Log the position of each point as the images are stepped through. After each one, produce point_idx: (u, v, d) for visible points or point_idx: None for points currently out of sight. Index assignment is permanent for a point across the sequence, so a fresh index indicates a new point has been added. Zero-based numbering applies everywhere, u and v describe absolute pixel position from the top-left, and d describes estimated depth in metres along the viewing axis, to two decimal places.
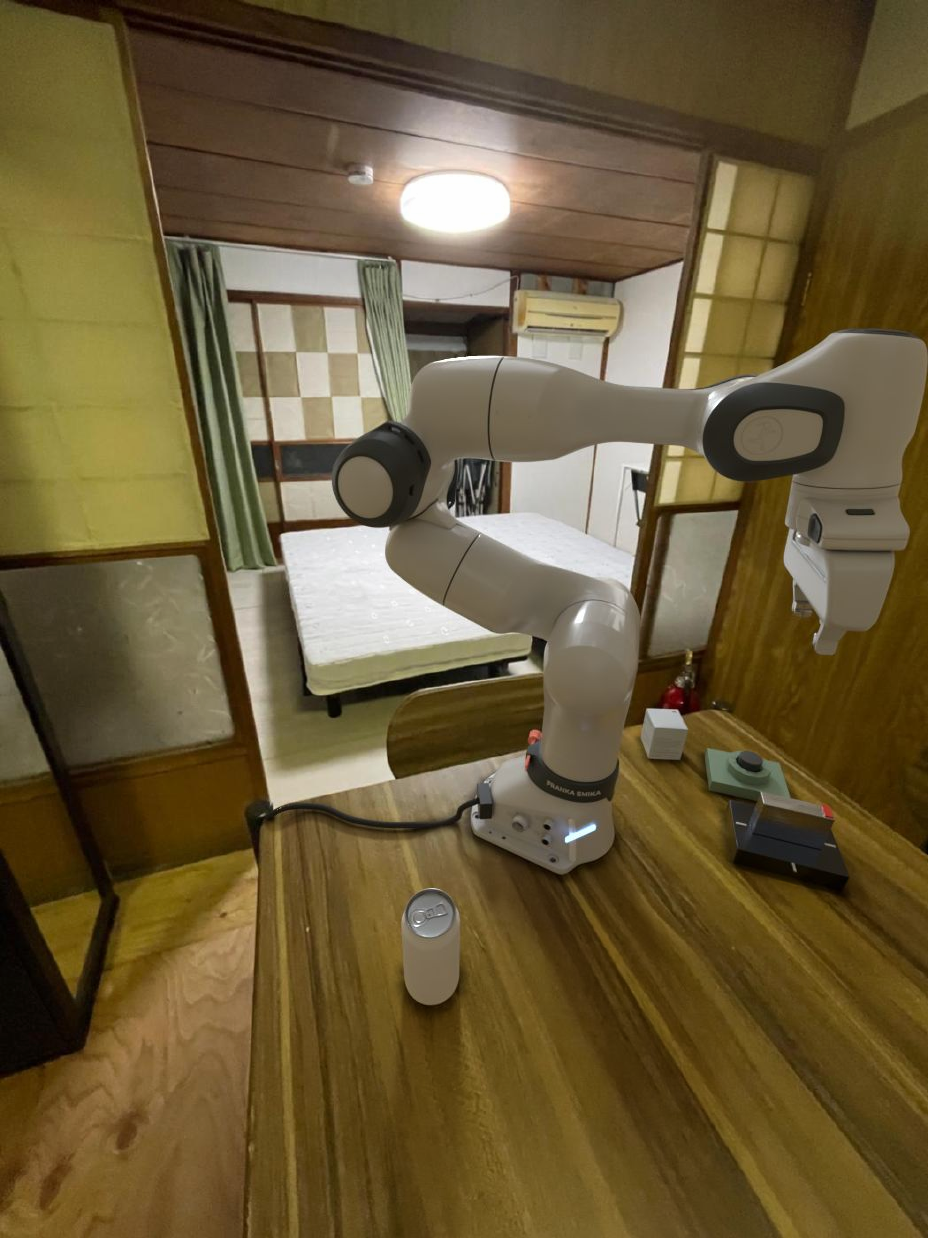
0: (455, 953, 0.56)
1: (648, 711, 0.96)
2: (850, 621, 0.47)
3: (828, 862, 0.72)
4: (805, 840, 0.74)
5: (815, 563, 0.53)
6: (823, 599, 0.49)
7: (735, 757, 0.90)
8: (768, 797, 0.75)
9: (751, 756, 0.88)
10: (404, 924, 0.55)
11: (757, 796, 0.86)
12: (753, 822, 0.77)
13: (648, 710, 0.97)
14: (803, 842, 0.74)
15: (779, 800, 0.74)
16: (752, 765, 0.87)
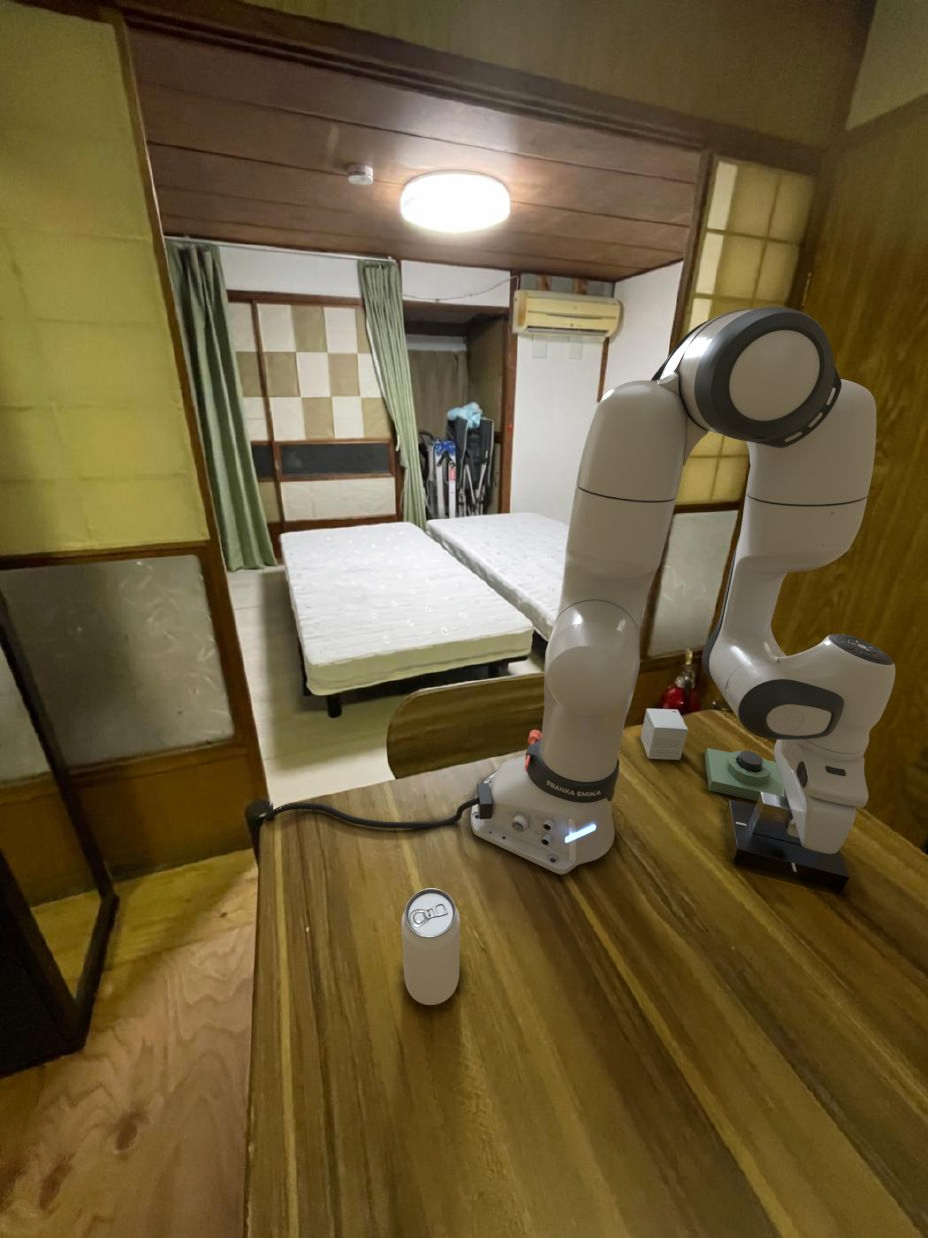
0: (455, 953, 0.56)
1: (648, 711, 0.96)
2: (820, 848, 0.64)
3: (828, 862, 0.72)
4: None
5: (799, 784, 0.70)
6: (802, 823, 0.66)
7: (735, 757, 0.90)
8: (768, 797, 0.75)
9: (751, 756, 0.88)
10: (404, 924, 0.55)
11: (757, 796, 0.86)
12: (753, 822, 0.77)
13: (648, 710, 0.97)
14: None
15: (779, 800, 0.74)
16: (752, 765, 0.87)
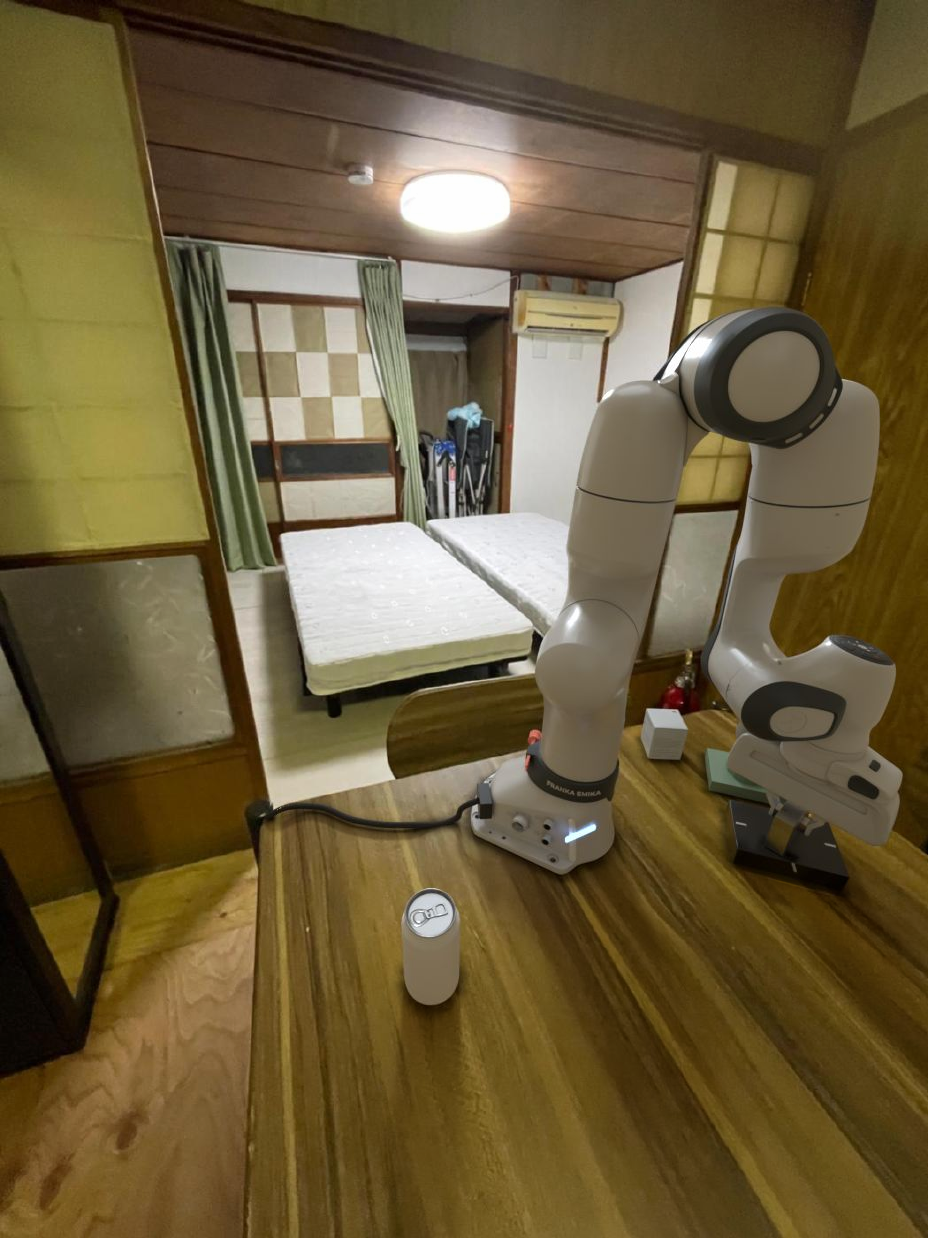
0: (455, 953, 0.56)
1: (648, 711, 0.96)
2: (887, 838, 0.66)
3: (828, 862, 0.72)
4: None
5: (820, 791, 0.69)
6: (862, 826, 0.66)
7: None
8: (785, 817, 0.72)
9: None
10: (404, 924, 0.55)
11: (757, 796, 0.86)
12: (777, 847, 0.73)
13: (648, 710, 0.97)
14: None
15: (789, 812, 0.72)
16: None
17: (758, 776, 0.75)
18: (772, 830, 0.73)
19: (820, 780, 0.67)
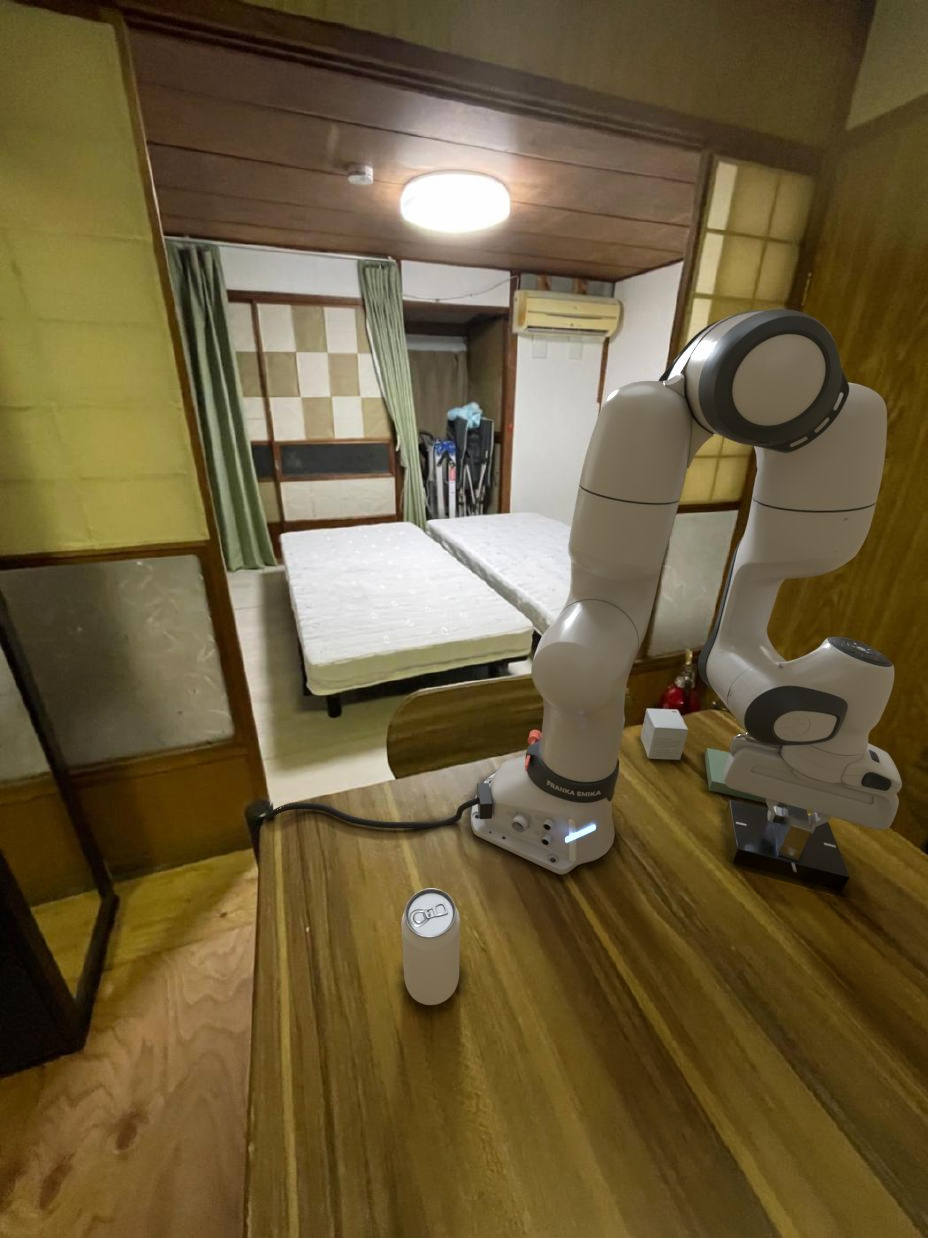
0: (455, 953, 0.56)
1: (648, 711, 0.96)
2: None
3: (828, 862, 0.72)
4: None
5: (826, 791, 0.69)
6: (869, 815, 0.68)
7: None
8: (798, 823, 0.71)
9: None
10: (404, 924, 0.55)
11: (757, 796, 0.86)
12: (792, 853, 0.72)
13: (648, 710, 0.97)
14: None
15: (797, 815, 0.72)
16: None
17: (761, 789, 0.73)
18: (787, 839, 0.71)
19: (830, 782, 0.68)
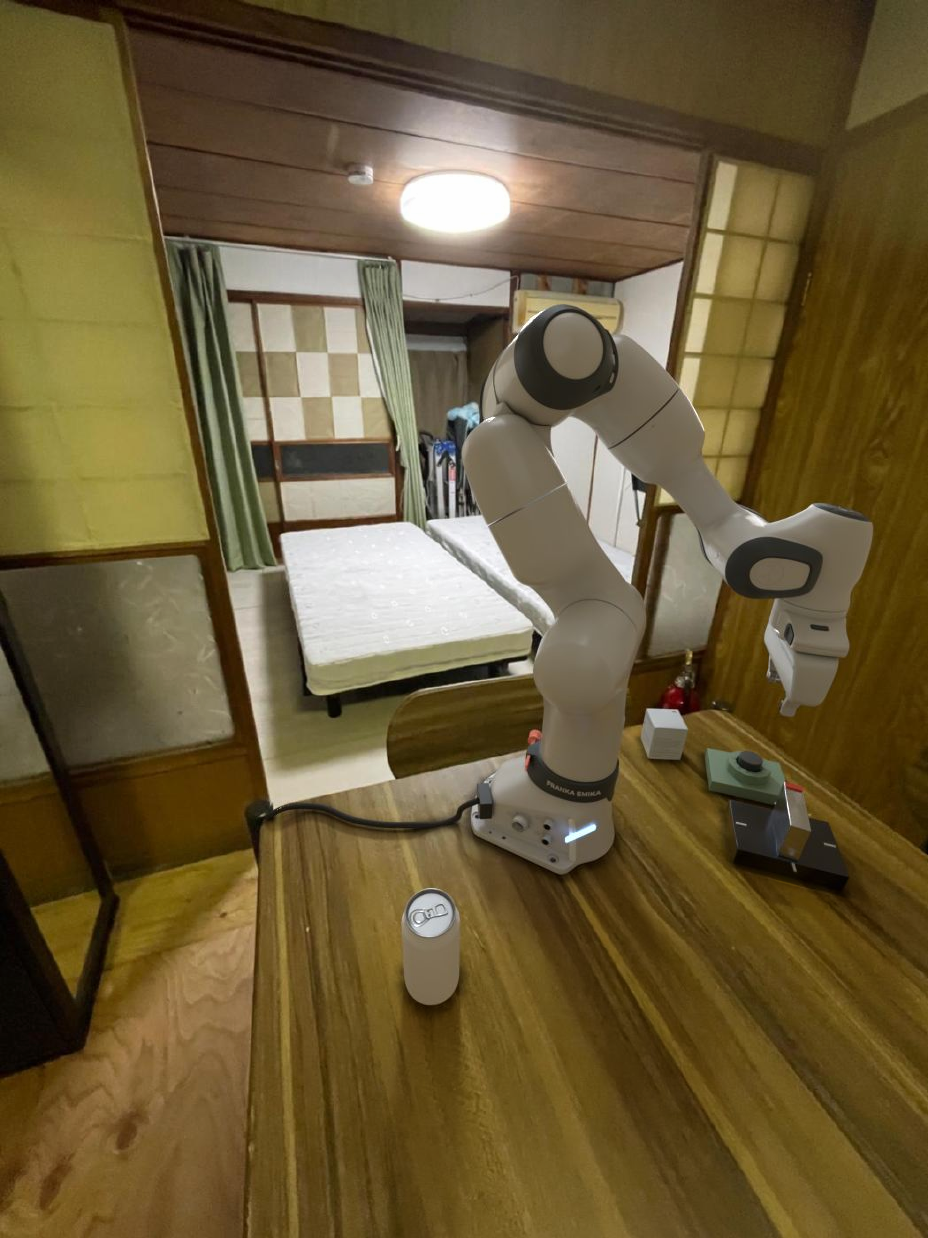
0: (455, 953, 0.56)
1: (648, 711, 0.96)
2: (806, 700, 0.69)
3: (828, 862, 0.72)
4: None
5: (786, 652, 0.75)
6: (789, 681, 0.72)
7: (735, 757, 0.90)
8: (798, 823, 0.71)
9: (751, 756, 0.88)
10: (404, 924, 0.55)
11: (757, 796, 0.86)
12: (792, 853, 0.72)
13: (648, 710, 0.97)
14: None
15: (797, 815, 0.72)
16: (752, 765, 0.87)
17: (770, 644, 0.83)
18: (787, 839, 0.71)
19: None
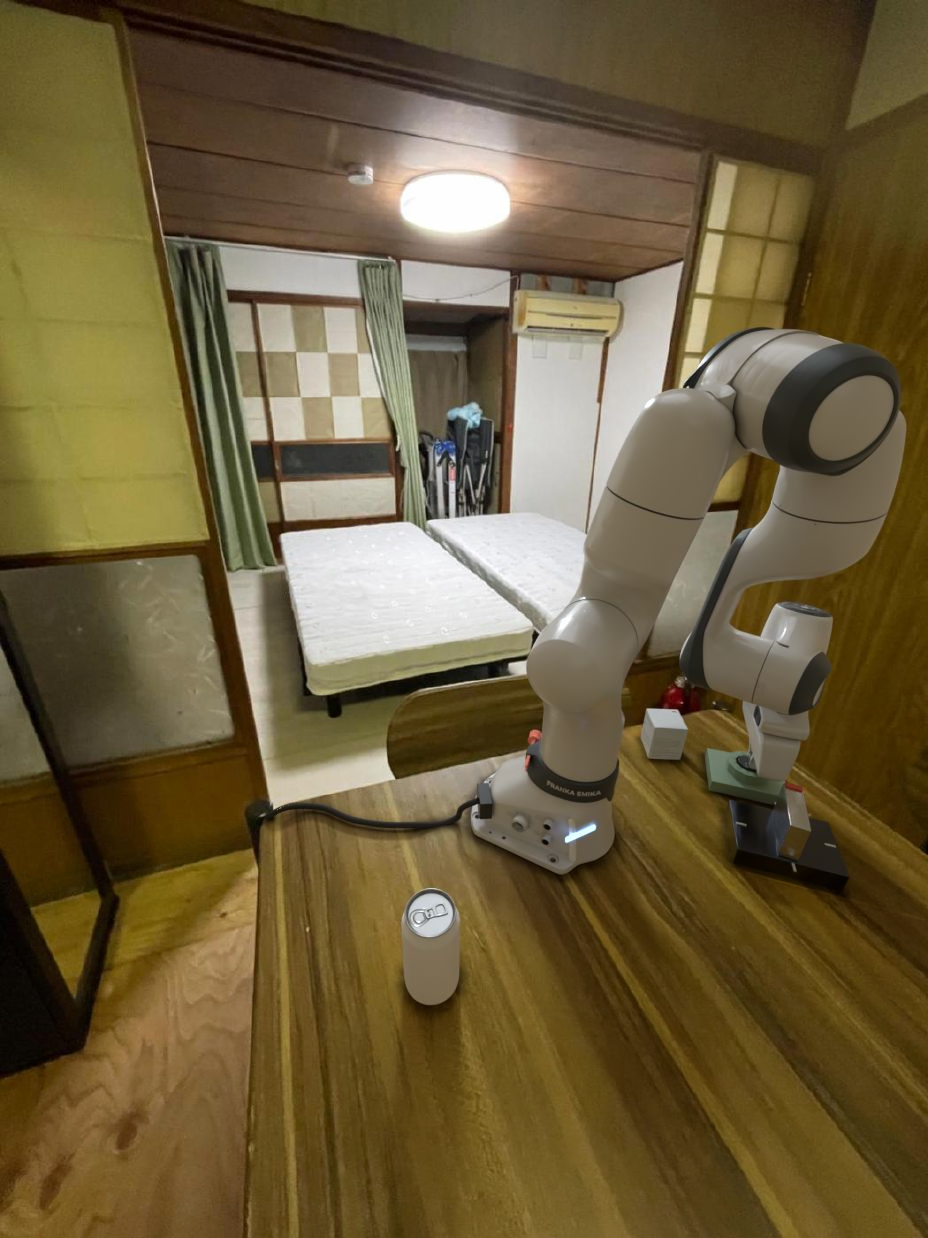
0: (455, 953, 0.56)
1: (648, 711, 0.96)
2: (771, 776, 0.77)
3: (828, 862, 0.72)
4: None
5: (758, 727, 0.83)
6: (758, 757, 0.79)
7: (735, 757, 0.90)
8: (798, 823, 0.71)
9: None
10: (404, 924, 0.55)
11: (757, 796, 0.86)
12: (792, 853, 0.72)
13: (648, 710, 0.97)
14: None
15: (797, 815, 0.72)
16: (751, 770, 0.87)
17: (746, 714, 0.90)
18: (787, 839, 0.71)
19: None
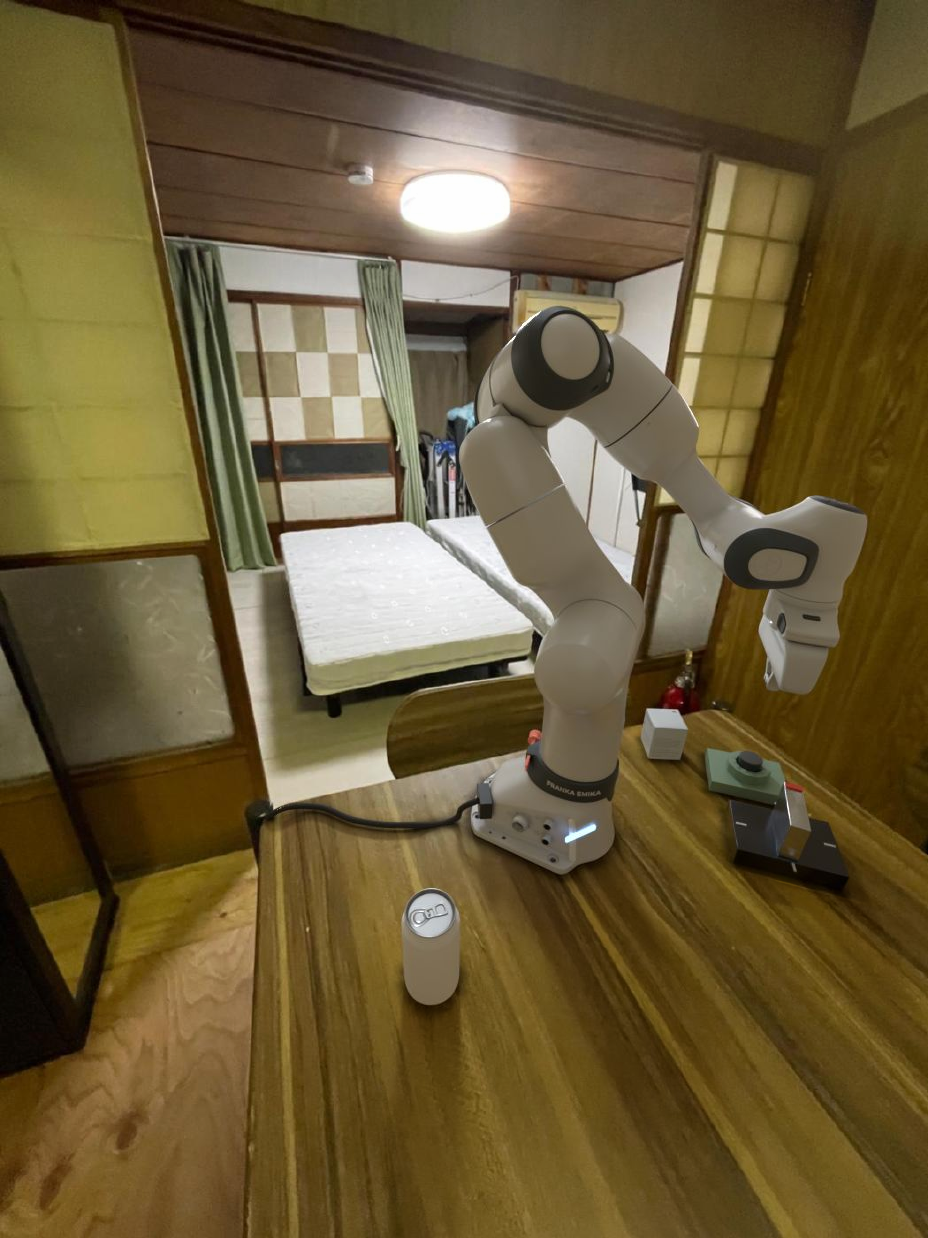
0: (455, 953, 0.56)
1: (648, 711, 0.96)
2: (795, 688, 0.71)
3: (828, 862, 0.72)
4: None
5: (779, 642, 0.77)
6: (780, 670, 0.73)
7: (735, 757, 0.90)
8: (798, 823, 0.71)
9: (751, 756, 0.88)
10: (404, 924, 0.55)
11: (757, 796, 0.86)
12: (792, 853, 0.72)
13: (648, 710, 0.97)
14: None
15: (797, 815, 0.72)
16: (752, 765, 0.87)
17: (764, 635, 0.84)
18: (787, 839, 0.71)
19: (775, 626, 0.76)
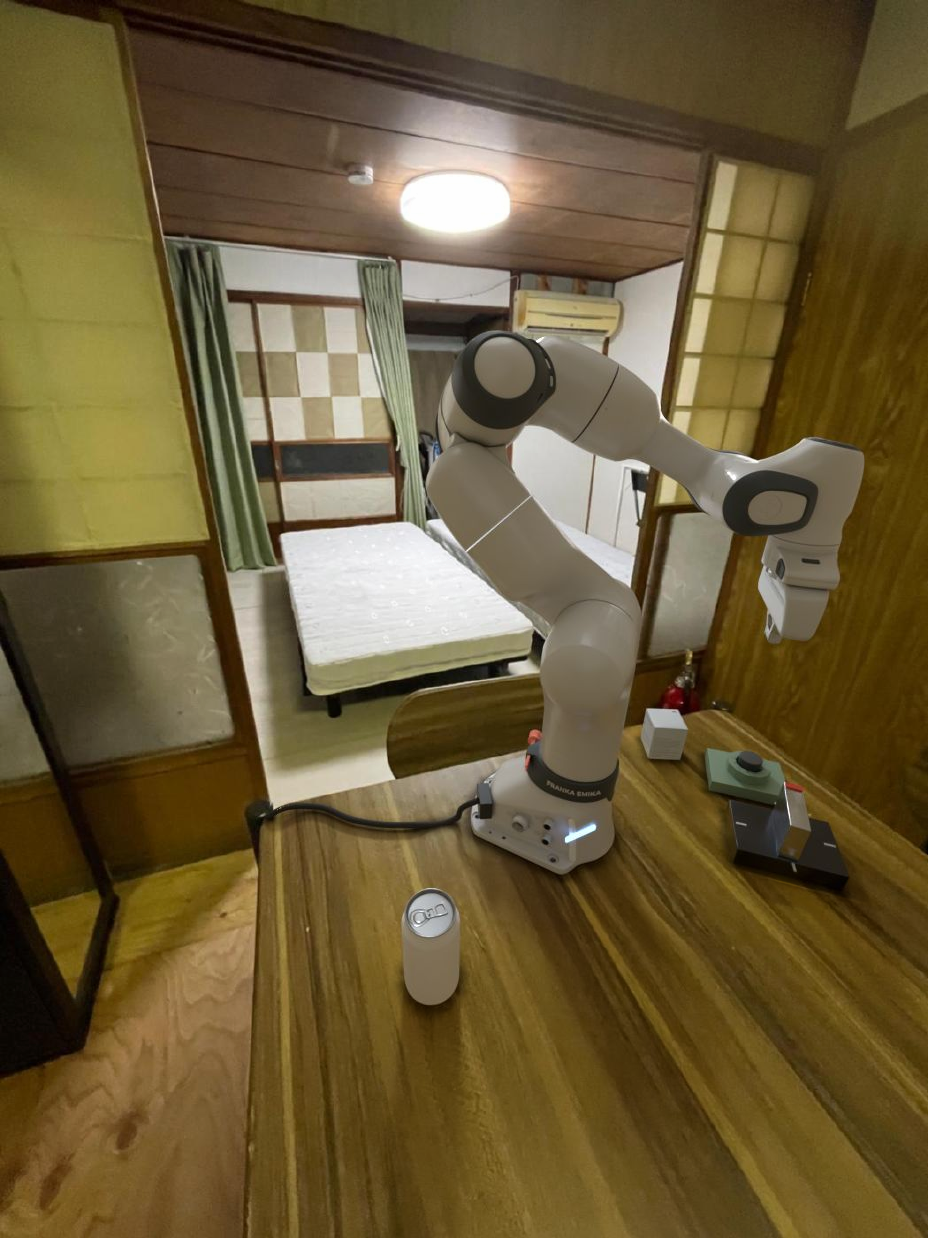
0: (455, 953, 0.56)
1: (648, 711, 0.96)
2: (796, 633, 0.70)
3: (828, 862, 0.72)
4: None
5: (779, 591, 0.76)
6: (781, 617, 0.72)
7: (735, 757, 0.90)
8: (798, 823, 0.71)
9: (751, 756, 0.88)
10: (404, 924, 0.55)
11: (757, 796, 0.86)
12: (792, 853, 0.72)
13: (648, 710, 0.97)
14: None
15: (797, 815, 0.72)
16: (752, 765, 0.87)
17: (763, 588, 0.83)
18: (787, 839, 0.71)
19: (774, 575, 0.75)
